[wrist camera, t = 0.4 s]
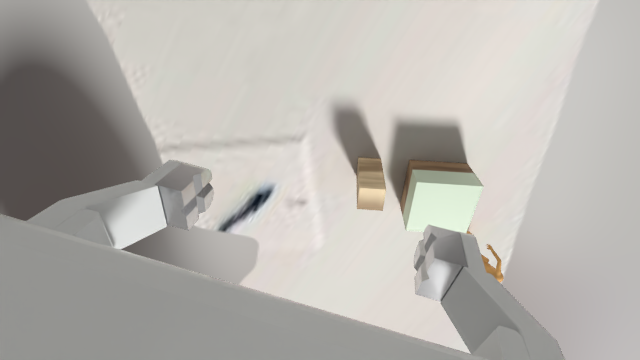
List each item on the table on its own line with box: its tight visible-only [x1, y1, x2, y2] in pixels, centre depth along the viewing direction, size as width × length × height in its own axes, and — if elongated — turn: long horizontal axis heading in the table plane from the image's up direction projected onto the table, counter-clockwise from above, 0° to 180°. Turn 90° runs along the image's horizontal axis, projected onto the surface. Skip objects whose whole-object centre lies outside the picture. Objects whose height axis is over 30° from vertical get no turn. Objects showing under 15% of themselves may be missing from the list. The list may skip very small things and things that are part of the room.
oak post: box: [357, 157, 386, 211], centre depth 49 cm, size 4×4×10 cm
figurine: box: [466, 231, 503, 282], centre depth 54 cm, size 8×6×12 cm
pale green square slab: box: [403, 170, 484, 233], centre depth 49 cm, size 10×10×4 cm
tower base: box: [400, 160, 474, 216], centre depth 53 cm, size 10×10×4 cm
